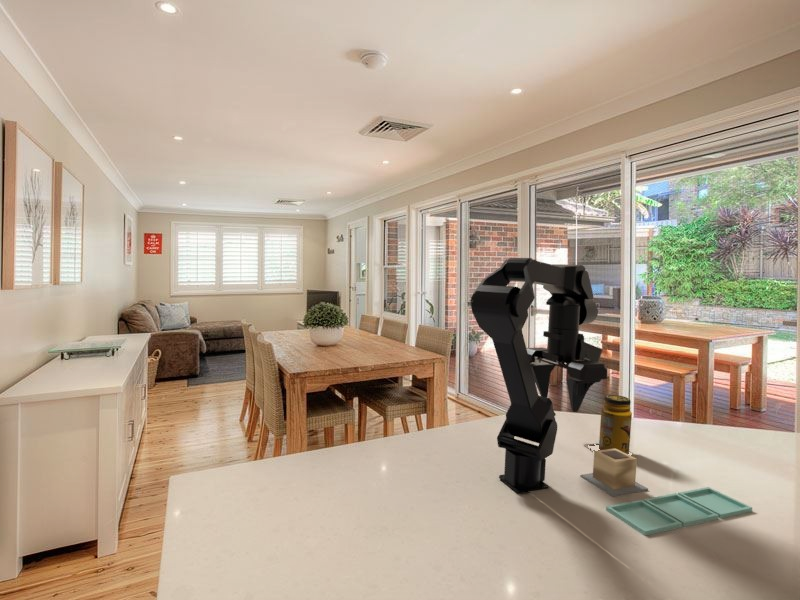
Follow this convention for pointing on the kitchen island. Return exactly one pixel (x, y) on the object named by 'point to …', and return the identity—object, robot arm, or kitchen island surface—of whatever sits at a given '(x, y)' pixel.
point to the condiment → (615, 424)
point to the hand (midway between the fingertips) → (559, 404)
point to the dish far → (716, 502)
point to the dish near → (643, 517)
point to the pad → (614, 492)
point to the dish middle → (681, 509)
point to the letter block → (614, 468)
